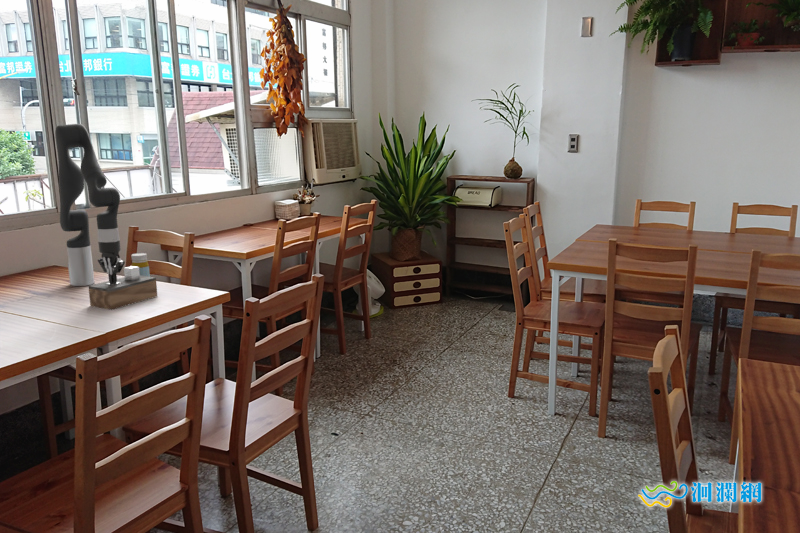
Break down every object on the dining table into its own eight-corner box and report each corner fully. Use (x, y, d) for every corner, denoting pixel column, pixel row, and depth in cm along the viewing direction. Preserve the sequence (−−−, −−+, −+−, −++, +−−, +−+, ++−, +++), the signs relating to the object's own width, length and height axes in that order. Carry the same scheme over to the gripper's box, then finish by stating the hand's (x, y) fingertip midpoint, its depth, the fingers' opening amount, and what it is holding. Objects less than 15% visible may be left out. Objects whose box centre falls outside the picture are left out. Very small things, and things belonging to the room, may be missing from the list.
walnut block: (90, 305, 233) (88, 285, 231) (136, 292, 252) (135, 274, 251) (111, 309, 228) (109, 289, 226) (157, 296, 247) (155, 277, 245)
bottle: (138, 290, 256) (135, 256, 253) (130, 288, 260) (127, 254, 257) (153, 287, 261) (150, 254, 258) (145, 285, 265) (142, 252, 262)
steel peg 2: (125, 284, 242) (123, 267, 240) (133, 282, 245) (131, 265, 244) (132, 285, 240) (130, 268, 239) (140, 283, 244) (138, 266, 242)
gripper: (88, 239, 230) (93, 283, 234) (112, 242, 224) (116, 287, 228) (105, 237, 237) (109, 279, 240) (129, 239, 231) (133, 283, 235)
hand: (113, 283), depth 234 cm, fingers closed
